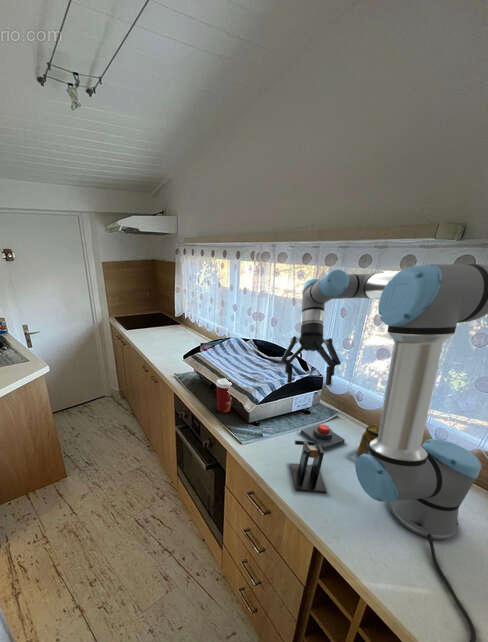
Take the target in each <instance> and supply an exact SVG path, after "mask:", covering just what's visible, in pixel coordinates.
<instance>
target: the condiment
mask: <svg viewBox="0 0 488 642" xmlns="http://www.w3.org/2000/svg"><path fill="white" fill-rule="evenodd" d="M379 429H380V426H376V425H368V426H367V427H366V428H365V431H364V432H363V433H362V436H361V439H360V442H359V446H358V448H357V450H356V451H355V454H356V455H357V458H358V457H359V456H360V455H362V454H368V452H369V446H370V442H371V441H372V440H374V439H376V438H378V435H379Z"/></svg>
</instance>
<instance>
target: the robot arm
mask: <svg viewBox="0 0 488 642" xmlns="http://www.w3.org/2000/svg"><path fill="white" fill-rule="evenodd" d="M301 294H302V295H301V296H302V299H301V319H300V320H301V321H300V324H301V325H300V334H299V335H300V337H297V336H292V337H291V338H290V343H289V345H288V346H287V349H286V350H285V352H284V353H283V355H282V357H281V359H280V363H282V364H284V365H285V369H284V370H285V374H287V380H286V381H287V384H291V383H292V382H293V369H294V368H293V367H294V366H293V365H294V364H293V363H292V362H293V361H294V360H295V359H296V358H297V357H298V356H299V355H300V354H301V353H302V352H303V351H305V352H309V351H311V352H315V351H316V353H318V354H319V355H320V356H321V358H322V359H323V360H324V362H325V363H326V364H327V365H328V366H327V367H326V371H325V372H326V373H325V374H326V375H325V378H326V379H325V386H331V385H332V377H334V376H335V368H336V367H337V366H339V365H341V363H342V362H341V360H340V358H339V356H338V353H337V352H336V349H335V347H334V345H333V338H331V337H330V338H325V339H324V327H325V326H324V323H325V322H324V321H325V306H326V303H328V302H329V301H331V300H338V299H339V300H340V299H370V300H378V307H377V311H378V315H379V318H380V321H381V322H382V323H383V324H384V325H386V326H387V332H386V333H387V334H388V335H389V337H390V338H392V340H393V345H392V351H391V357H390V363H389V367H388V374H387V381H386V386H385V392H384V399H383V404H382V405H383V406H382V411H381V412H382V413H381V417H380V423H379V428H380V429H379V435H378V438H376V439H374V440H372V441H371V442H370V446H369V452H368V454H362V455H360V456H359V457H358V456H357V458H356V460H355V464H354V465H355V467H354V468H355V474H356V477H357V480H358V482H359V484H360V487H361V488H362V490H363V491H364V492H365V494H367V495H368V496H369V497H370V498H371V499H373V500H374V501H377V502H382V503H385V502H389V503H388V504H389V505H388V507H389V511H390V513H391V515H392V516H393V518H394V519H395V520H396V521H397V522H398V523H399V524H400V525H402V526H403V527H404V528H405V529H407V530H408V531H410V532H411V533H414V534H415V535H418V536H420V537H424V538H425V539H426V538H427V539H428V543H429V547H430V553H431V558H432V561H433V563H434V566H435V568H436V570H437V573H438V574H439V576H440V577H441V579H442V581H443V583H444V585H445V586H446V588H447V589H448V591H449V594H450V595H451V597H452V599H453V600H454V602H455V603H456V605H457V607H458V609H459V610H460V612H461V613H462V615H463V617H464V618H465V620H466V622H467V624H468V626H469V627H468V628H469V630H470V640H469V642H477V633H476V629H475V626H474V623H473V621H472V619H471V618H470V615H469V614H468V613H467V611H466V609H465V608H464V606H463V604H462V603H461V602H460V600H459V598H458V596H457V595H456V593H455V591H454V589H453V588H452V586H451V584H450V582H449V581H448V579H447V578H446V576H445V574H444V572H443V571H442V568H441V567H440V565H439V563H438V560H437V556H436V552H435V551H436V550H435V546H434V542H433V541H445V540H449V539H451V538H453V537H454V536H455V534H456V532H457V531H458V528H459V519H458V517H459V508H460V507H461V505H462V503H463V501H464V500H465V499H466V496H467V495H468V493H469V491H470V490H471V488H472V487H473V485H474V483H475V481H476V480H477V479H478V478H479V474H480V471H481V469H482V463H481V461H480V459H479V458H478V457H477V456H476V455H475V454H474V453H472V451H470V450H468V449H466V448H465V447H462V446H461V445H458V444H456V443H454V442H451V441H448V440H445V439H439V438H430V439H426V440H425V442H424V443H423V438H424V434H425V428H426V425H427V421H428V420H427V419H428V416H429V415H428V414H429V411H430V405H431V401H432V398H433V397H432V396H433V391H434V386H435V382H436V377H437V372H438V368H439V363H440V358H441V355H442V351H443V344H444V342H445V341H446V340H448V339H450V338H451V337H453V336H454V335H455V333H456V329H457V325H458V324H462V323H468V322H473V321H476V320H479V319H481V318H484V317H485V316H487V315H488V265H487V264H482V263H468V264H467V263H465V264H463V263H462V264H455V263H453V264H452V263H451V264H450V263H449V264H432V263H431V264H428V263H427V264H423V265H415V266H410V267H409V266H408V267H406V268H404V269H401V270H400V271H398V272H397V273H386V272H385V273H384V272H383V273H381V272H370V273H368V272H367V273H365V272H364V273H347V272H346V271H344V270H342V269H339V268H338V269H336V268H335V269H332V270H330V271H329V272H328V273H325V274H324V275H323V276H322V277H321V278H317V277H316V278H310V279H307V280H306V281H305V282H304V283H303V287H302V293H301ZM297 343H299V344H300V347H298V348H297V349H296V351H295V352H294V353H293V354H292V355H291V356H290V357H289V355H290V354H291V352H292V350H293V348H294V347H295V345H296V344H297ZM323 344H324V346H326V349H327V351H328V353H329V354H328V353H327V351H326V350H325V348H324V346H323ZM288 357H289V358H288Z"/></svg>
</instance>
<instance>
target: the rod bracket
mask: <svg viewBox="0 0 488 642" xmlns="http://www.w3.org/2000/svg"><path fill="white" fill-rule="evenodd" d="M315 448H316V449H317V450H318V456H317V458H313V460H312V464H309V459H310V457H309V454H310V451H309V448H308V445H307V443H304V444H303V445H302V449H301V454H300V459H299V463H293V462H291V463H289V470H290V474H291V477H292V482H293V486H294V491H296V492H306V493H318V494H319V493H320V494H327V489H326V486H325V483H324V480H323V477H322V475H321V472H320V471H321V467H322V465H323V460H324V455H325V450H323V449H322V447H321V444H317V445H316V447H315Z"/></svg>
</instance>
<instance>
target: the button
mask: <svg viewBox="0 0 488 642" xmlns="http://www.w3.org/2000/svg"><path fill="white" fill-rule="evenodd" d="M320 424H321V425H319V429H318V432H320V433H323V434H328V432H329V428H330V426H329V425H328V424H324V423H323V424H322V423H320Z"/></svg>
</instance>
